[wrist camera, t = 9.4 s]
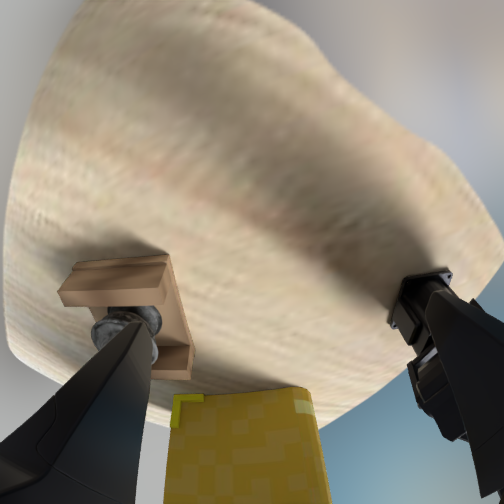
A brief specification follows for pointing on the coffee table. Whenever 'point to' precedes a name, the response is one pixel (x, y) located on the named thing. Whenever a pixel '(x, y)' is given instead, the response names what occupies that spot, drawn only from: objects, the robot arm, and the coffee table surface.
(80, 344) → the coffee table surface
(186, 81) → the coffee table surface
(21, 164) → the coffee table surface
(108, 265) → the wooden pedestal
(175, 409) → the book
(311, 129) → the coffee table surface
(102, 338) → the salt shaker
